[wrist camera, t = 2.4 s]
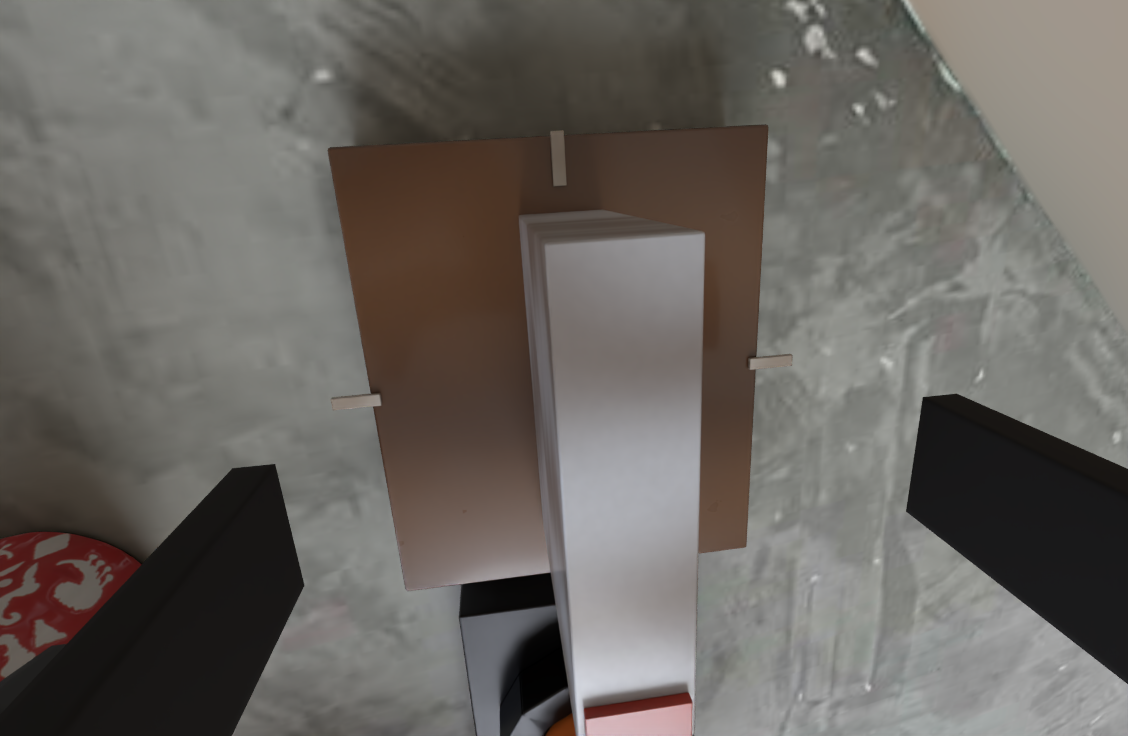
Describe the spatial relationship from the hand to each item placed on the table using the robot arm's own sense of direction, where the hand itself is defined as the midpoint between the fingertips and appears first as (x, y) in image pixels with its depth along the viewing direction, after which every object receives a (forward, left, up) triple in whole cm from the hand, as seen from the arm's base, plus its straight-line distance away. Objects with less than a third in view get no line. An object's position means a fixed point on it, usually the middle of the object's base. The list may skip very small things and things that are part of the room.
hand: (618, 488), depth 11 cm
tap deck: (0, 0, -9) cm, 9 cm away
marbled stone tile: (0, 0, -6) cm, 6 cm away
